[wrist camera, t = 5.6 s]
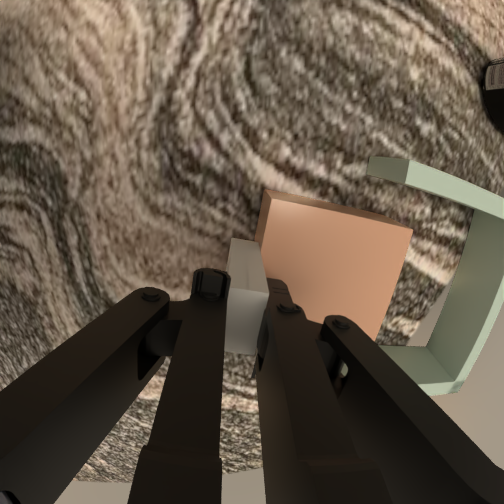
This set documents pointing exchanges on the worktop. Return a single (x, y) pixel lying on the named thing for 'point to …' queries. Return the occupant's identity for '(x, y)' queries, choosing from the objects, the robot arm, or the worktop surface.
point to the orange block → (332, 256)
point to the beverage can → (495, 91)
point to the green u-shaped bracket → (464, 284)
